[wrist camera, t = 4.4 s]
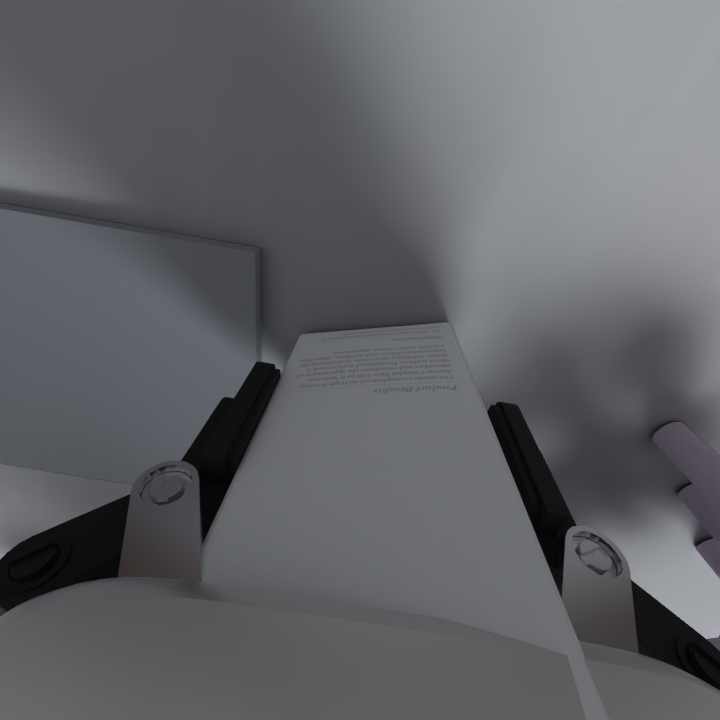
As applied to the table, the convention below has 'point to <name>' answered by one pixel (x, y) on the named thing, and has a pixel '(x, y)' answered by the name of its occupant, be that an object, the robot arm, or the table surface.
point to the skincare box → (389, 494)
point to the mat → (117, 341)
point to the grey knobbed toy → (697, 485)
